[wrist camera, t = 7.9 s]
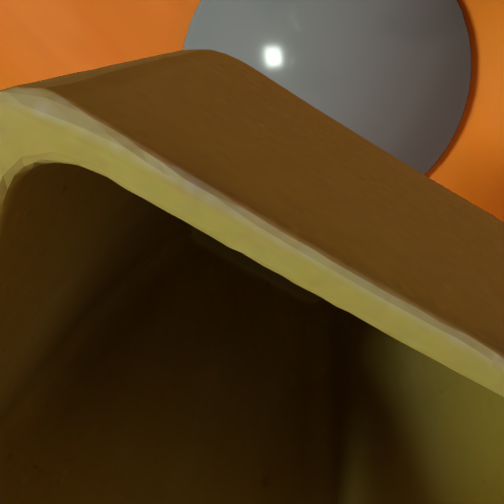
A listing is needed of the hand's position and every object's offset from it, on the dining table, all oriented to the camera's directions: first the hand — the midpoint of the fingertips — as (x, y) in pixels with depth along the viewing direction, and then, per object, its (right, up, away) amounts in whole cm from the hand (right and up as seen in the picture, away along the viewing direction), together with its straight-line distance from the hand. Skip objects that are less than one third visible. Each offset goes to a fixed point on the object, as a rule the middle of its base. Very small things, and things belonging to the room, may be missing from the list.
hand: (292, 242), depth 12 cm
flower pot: (0, +1, +2) cm, 2 cm away
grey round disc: (+2, +8, +11) cm, 14 cm away
